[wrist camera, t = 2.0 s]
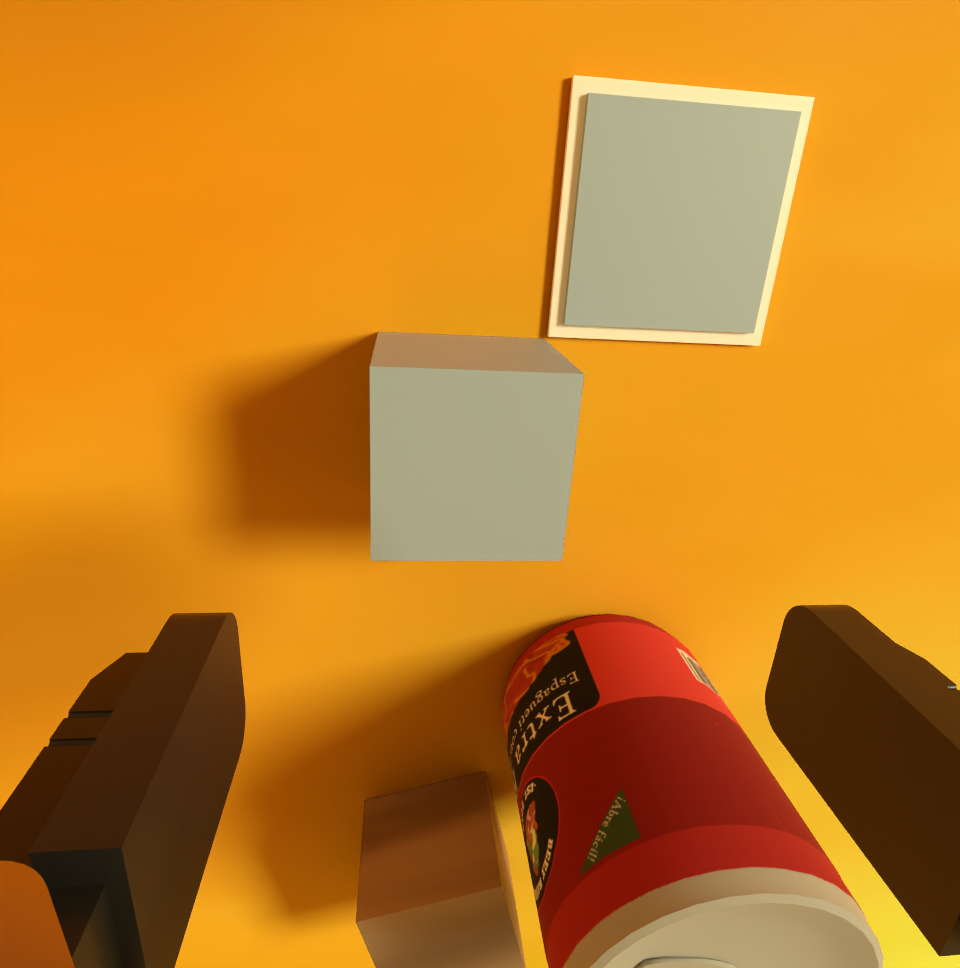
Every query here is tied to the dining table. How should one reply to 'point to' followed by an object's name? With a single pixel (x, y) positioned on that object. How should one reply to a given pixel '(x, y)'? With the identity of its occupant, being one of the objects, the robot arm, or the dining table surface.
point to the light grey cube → (470, 447)
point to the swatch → (673, 210)
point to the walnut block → (437, 880)
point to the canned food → (661, 816)
